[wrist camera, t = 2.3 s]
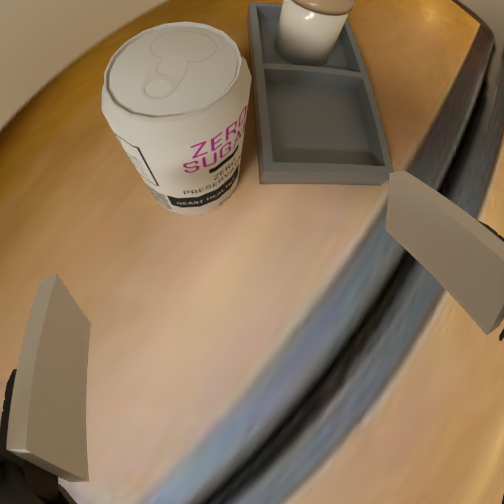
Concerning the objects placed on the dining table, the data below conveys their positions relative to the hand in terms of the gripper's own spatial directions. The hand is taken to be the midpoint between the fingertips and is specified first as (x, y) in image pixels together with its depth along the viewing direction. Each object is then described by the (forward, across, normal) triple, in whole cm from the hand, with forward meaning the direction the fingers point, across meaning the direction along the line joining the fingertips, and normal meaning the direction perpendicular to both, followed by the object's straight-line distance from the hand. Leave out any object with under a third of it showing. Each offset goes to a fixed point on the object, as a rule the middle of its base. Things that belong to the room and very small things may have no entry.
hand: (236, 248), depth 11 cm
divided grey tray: (+23, +14, +1) cm, 27 cm away
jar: (+26, +15, +5) cm, 31 cm away
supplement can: (+18, 0, -4) cm, 19 cm away
